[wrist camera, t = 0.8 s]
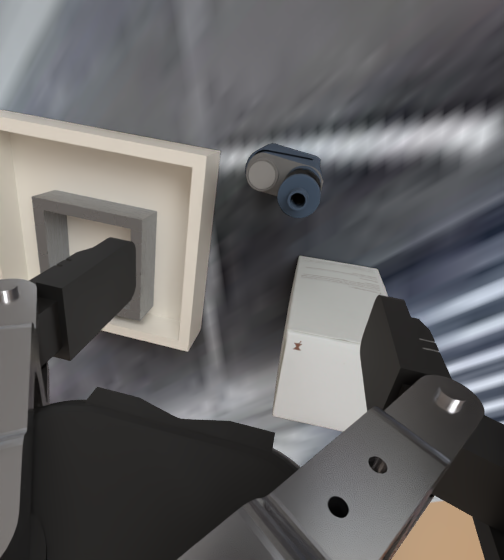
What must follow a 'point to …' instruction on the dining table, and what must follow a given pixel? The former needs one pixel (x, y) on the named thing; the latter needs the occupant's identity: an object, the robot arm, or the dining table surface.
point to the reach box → (121, 189)
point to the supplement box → (325, 343)
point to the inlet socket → (141, 221)
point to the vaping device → (287, 178)
